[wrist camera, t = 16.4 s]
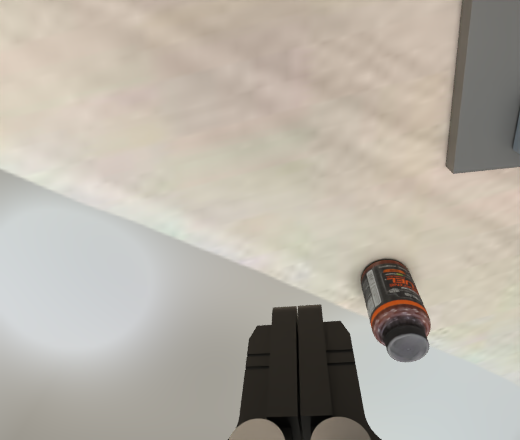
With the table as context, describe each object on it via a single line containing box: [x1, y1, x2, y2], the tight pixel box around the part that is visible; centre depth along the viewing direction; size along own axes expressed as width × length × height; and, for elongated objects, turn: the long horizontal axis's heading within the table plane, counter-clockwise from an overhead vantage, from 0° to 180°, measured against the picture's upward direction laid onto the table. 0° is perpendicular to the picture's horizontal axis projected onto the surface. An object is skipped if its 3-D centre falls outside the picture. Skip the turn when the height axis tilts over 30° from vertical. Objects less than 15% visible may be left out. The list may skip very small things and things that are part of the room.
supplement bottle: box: [361, 260, 431, 362], centre depth 41 cm, size 6×6×11 cm
